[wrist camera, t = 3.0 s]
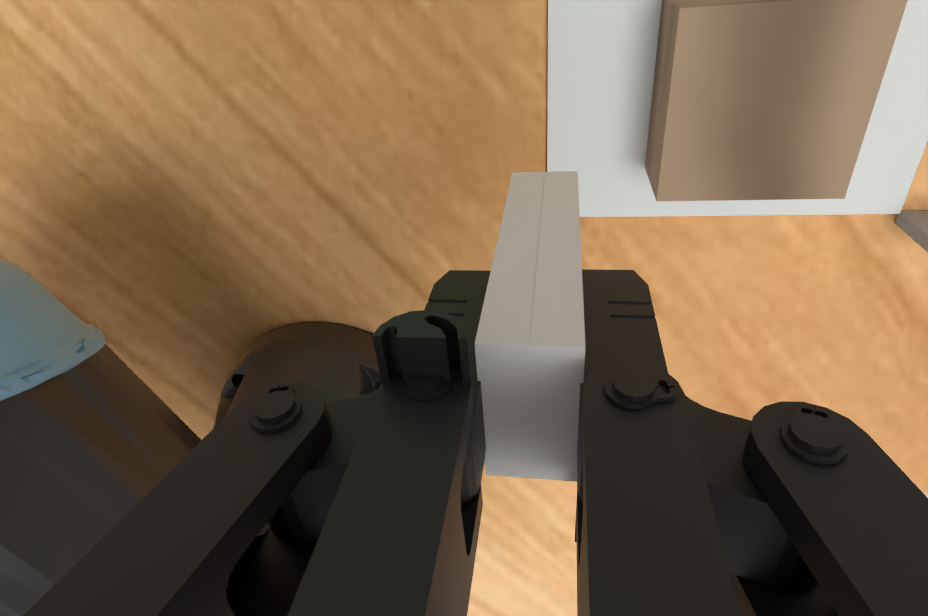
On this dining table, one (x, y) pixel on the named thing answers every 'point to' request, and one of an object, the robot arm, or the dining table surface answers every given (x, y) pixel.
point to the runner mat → (629, 104)
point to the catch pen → (915, 226)
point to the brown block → (764, 96)
